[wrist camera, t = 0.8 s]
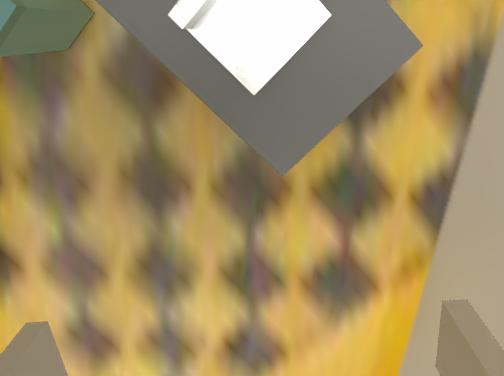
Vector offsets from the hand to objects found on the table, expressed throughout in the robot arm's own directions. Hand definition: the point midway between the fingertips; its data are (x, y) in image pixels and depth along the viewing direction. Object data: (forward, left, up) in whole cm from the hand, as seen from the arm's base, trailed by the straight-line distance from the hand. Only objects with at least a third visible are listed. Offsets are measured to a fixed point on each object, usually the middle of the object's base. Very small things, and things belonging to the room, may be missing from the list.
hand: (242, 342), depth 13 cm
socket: (-8, +7, -25) cm, 27 cm away
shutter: (-8, +7, -20) cm, 22 cm away
